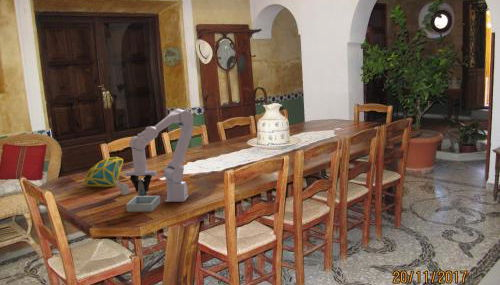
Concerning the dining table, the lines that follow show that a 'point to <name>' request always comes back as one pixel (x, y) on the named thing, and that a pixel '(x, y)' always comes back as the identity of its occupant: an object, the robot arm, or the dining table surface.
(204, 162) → the dining table surface
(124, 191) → the lighter
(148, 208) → the dish
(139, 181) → the battery cell
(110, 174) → the decorative object
